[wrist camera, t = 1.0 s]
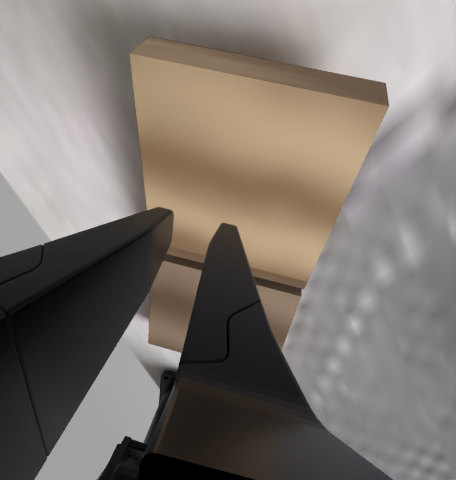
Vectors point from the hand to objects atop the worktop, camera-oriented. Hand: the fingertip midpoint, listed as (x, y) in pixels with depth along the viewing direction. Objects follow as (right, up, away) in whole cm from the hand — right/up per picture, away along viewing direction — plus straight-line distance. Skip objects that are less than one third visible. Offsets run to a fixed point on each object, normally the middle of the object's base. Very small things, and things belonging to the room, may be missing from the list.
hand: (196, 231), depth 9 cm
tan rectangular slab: (+2, +3, +10) cm, 10 cm away
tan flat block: (0, -5, +17) cm, 18 cm away
